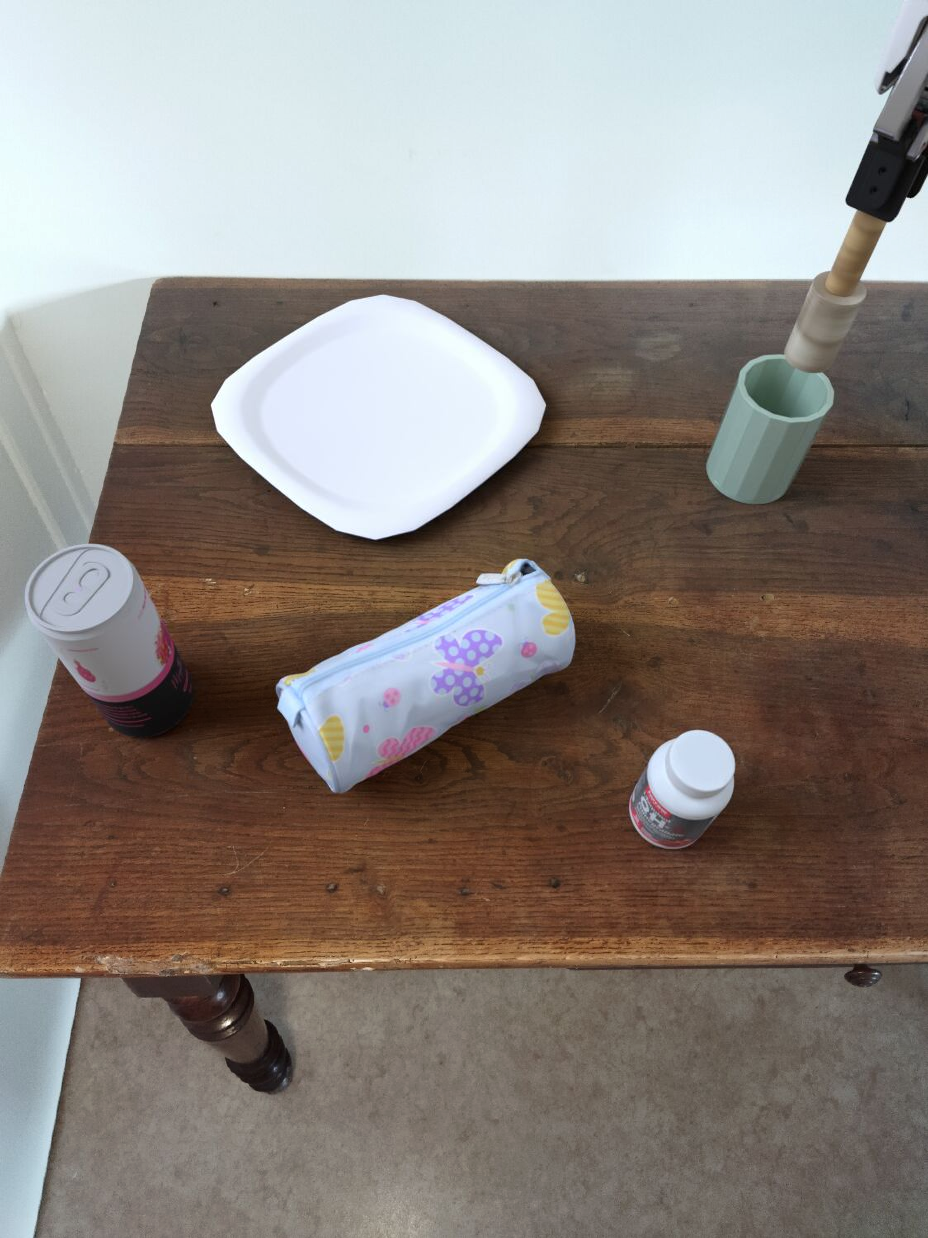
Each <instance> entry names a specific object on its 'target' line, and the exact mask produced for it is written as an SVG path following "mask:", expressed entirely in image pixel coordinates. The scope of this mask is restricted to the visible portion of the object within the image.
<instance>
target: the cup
mask: <svg viewBox="0 0 928 1238" xmlns="http://www.w3.org/2000/svg"><path fill="white" fill-rule="evenodd" d="M834 398H835V389H834V388H833V385H832V383H831V381H830V378H829V377H828V376H827V375H826V374H825V373H824V372H821V373H807V372H803V371H800V370H798V369H796V368H794V367H793V366H792V365H790V364H789V363H788V361H787V360H786V358H785V356H784V353H783V354H781V353H779V354H777V353H776V354H763V355H761V356H758V357H756V358H753V359H751V360H749V361H748V362H747V363H746V364H745V365H744V366H743V367H742V368H741V369H740V370H739V373H738V376H737V378H736V381H735V383H734V386H733V388H732V391H731V394H730V397H729V400H728V401H727V404H726V407H725V410H724V412H723V414H722V417H721V420H720V423H719V425H718V428H717V431H716V433H715V436H714V438H713V441H712V443H711V446H710V449H709V452H708V456H707V458H706V463H705V470H706V474H707V476H708V480H709V481H710V483H711V484H712V485H713V486H714V488H715V489H716V490H717V491H718V492H719V493H721V494H723V495H724V496H725V497H727V498H729V499H730V500H733V501H736V502H739V503H742V504H747V505H765V504H766V505H767V504H770V503H773V502H775V501H777V500H778V499H780V498H781V497H783V496H784V495H785V494H786V493H787V492H788V491H789V488H790V486H791V485H792V484H793V482H794V480H795V478H796V476H797V474H798V472H799V471H800V469H801V467H802V464H803V463H804V461H805V459H806V457H807V456H808V453H809V451H810V449H811V448H812V445H813V444H814V442H815V440H816V438H817V436H818V434H819V432H820V430H821V428H822V426H823V425H824V422H825V421H826V419H827V417H828V415H829V413H830V411H831V409H832V408H833V405H834Z"/></svg>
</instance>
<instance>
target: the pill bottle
mask: <svg viewBox="0 0 928 1238" xmlns="http://www.w3.org/2000/svg"><path fill="white" fill-rule="evenodd" d="M735 770H736V760H735V756H734V753H733V751H732V749H731V747H730V746H729V744H728V743H727V742H726V741H725V740H724V739H723V738H722V737H720V736H718V735H717V734H715V733H713V732H711V731H708V730H702V729H694V730H688V731H685V732H683V733H681V734H680V735H679V736H677V737H675V738H672V739H670V740H668V741H666V742H664V743H663V744H661V745H660V746H659V747H658V748H657V749H656V750H655V751H654V752H653V754H652V755H651V756H650V758H649V761H648V762H647V764H646V766H645V768H644V770H643V772H642V773H641V775H640V777H639V779H638V781H637V783H636V785H635V786H634V788H633V791H632V793H631V796H630V799H629V804H628V810H629V817H630V819H631V822H632V825H633V827H634V828H635V829H636V831H637V832H638V834H639V835H640V836H641V837H642V838H643V839H644V840H646V842H648V843H649V844H651V845H653V846H656V847H659V848H662V849H666V850H680V849H683V848H687V847H689V846H691V845H692V844H694V843H695V842H696V841H697V840H698V839H699V838H700V837H701V836H702V835H703V834H704V833H705V831H706V830H707V829H708V828H709V827H710V826H711V824H712V823H713V822H714V821H715V819H716V818H717V817H718V816H719V815H720V814H721V812H723V810H724V809H726V807H727V805H728V804H729V802H730V800H731V798H732V797H733V796H732V795H733V793H734V788H735V776H734V774H735V773H736V771H735Z"/></svg>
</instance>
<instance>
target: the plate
mask: <svg viewBox="0 0 928 1238" xmlns="http://www.w3.org/2000/svg"><path fill="white" fill-rule="evenodd" d="M210 407H211V411H212V415H213V419H214V424H215V428H216V432H217V434H218V435H219V436H220V437H221V438H222V439H223V440H224V441H225V443H226V444H227V445H228V446H229V447H230V448H231V449H232V451H234V453H235V454H236V455H237V456H238V457H239V458H240V460H242V461H243V462H244V463H245V464H247V466H248V467H250V468H251V469H252V470H254V471H255V472H256V473H257V474H258V475H260V476H261V477H262V478H263V479H264V480H265V481H266V482H267V483H268V484H270V485H271V486H272V487H273V488H274V489H276V490H277V491H278V492H279V493H281V494H282V495H283V496H284V497H286V498H287V499H288V500H289V501H291V502H292V503H293V504H294V505H295V506H297V507H298V508H299V509H301V510H302V511H303V512H305V513H307V514H308V515H310V516H311V517H313V518H314V519H316V520H317V521H319V522H321V523H322V524H324V525H326V526H327V527H329V529H330V528H331V530H333V531H335V532H337V533H341V534H346V535H348V536H354V537H358V538H362V539H366V540H371V541H375V542H376V541H380V540H384V539H389V538H393V537H397V536H401V535H405V534H409V533H414V532H416V531H418V530H419V529H421V528H422V527H424V526H425V525H427V524H429V523H431V522H432V521H433V520H435V519H437V518H439V517H440V516H442V515H443V514H445V513H447V512H449V511H450V510H451V509H453V508H454V507H455V506H456V505H458V504H459V503H460V502H461V501H462V500H464V499H465V498H466V497H468V496H469V495H470V494H472V493H473V492H474V491H476V490H477V489H478V488H479V487H481V486H482V485H483V484H485V483H486V482H487V481H488V480H489V479H490V478H492V477H493V476H494V475H496V473H497V472H499V471H500V470H502V468H504V467H505V466H506V465H507V464H509V463H510V462H511V461H512V460H513V459H515V457H517V455H518V454H519V453H521V451H522V450H523V449H524V448H525V447H526V446H527V445H528V444H529V442H530V441H532V439H533V438H534V437H536V436H537V434H538V433H539V430H540V427H541V424H542V421H543V417H544V414H545V411H546V407H547V404H546V402H545V400H544V398H543V396H542V394H541V391H540V390H539V388H538V386H537V383H536V382H535V381H534V379H533V378H532V377H531V376H529V375H528V374H527V373H526V372H524V370H523V369H521V368H520V367H519V366H518V365H517V364H515V363H514V362H513V361H512V360H511V359H509V358H508V357H507V356H505V355H504V354H502V353H501V352H500V351H498V350H497V349H495V348H494V347H493V346H491V345H489V344H488V343H486V342H485V341H484V340H482V339H481V338H479V337H478V336H476V335H475V334H473V333H472V332H470V331H468V330H467V329H466V328H464V327H463V326H461V325H459V324H458V323H456V322H455V321H453V320H452V319H451V318H449V317H447V316H445V315H444V314H441V313H439V312H437V311H435V310H434V309H431V308H430V307H428V306H426V305H424V304H422V303H420V302H418V301H416V300H412V299H408V298H403V297H397V296H393V295H388V294H378V295H373V296H369V297H362V298H357V299H353V300H349V301H346V302H345V303H343V304H341V305H339V306H337V307H335V308H333V309H330V310H329V311H326V312H325V313H323V314H320V315H319V316H317V317H315V318H314V319H312V320H310V321H309V322H307V323H305V324H303V325H302V326H301V327H299V328H297V329H295V330H293V331H292V332H291V333H289V334H287V335H286V336H284V337H283V338H281V339H280V340H278V341H276V342H275V343H273V344H272V345H270V346H268V347H267V348H266V349H264V350H262V351H261V352H260V353H258V354H256V355H255V356H253V357H252V358H250V360H248V361H247V362H245V364H244V365H242V366H241V367H240V368H238V369H237V370H236V371H234V373H232V374H231V375H229V376H228V377H227V378H226V379H225V380H224V382H223V384H222V385H221V387H220V388H219V390H218V392H217V393H216V396H215V398H213V400H212V402H211V404H210Z"/></svg>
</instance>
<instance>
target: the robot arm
mask: <svg viewBox="0 0 928 1238" xmlns="http://www.w3.org/2000/svg"><path fill="white" fill-rule="evenodd" d="M873 83H874V88H875V91H876V92H877V94H878V95H880V96H882V95H884V94H885V93H887V92H888V91H889V90H890V91H889V94H888V95H887V99H886V102H885V104H884V106H883V108H882V109H881V112H880V114H879V115H878V118H877V120H876V121H875V122H874V123H875V124H874V126H873V128H872V134H871V136H870V139H869V140H868V143H867V146H866V148H865V150H864V153H863V155H862V157H861V160H860V163H859V165H858V168H857V169H856V172H855V174H854V177H853V180H852V182H851V184H850V187H849V189H848V191H847V193H846V196H845V198H844V199H845V200H844V203H845V204H846V205H847V206H848V207H850V208H851V209H855V210H856V211H857V210H859V211H861V212H864V213H866V214H868V215H871V216H873V217H875V218H878V219H880V220H882V221H885V222H887V223H892V222H893V221H894V220H895V219H896V218H897V217H898V216H899V215H900V212H901V210H902V208H903V206H904V204H905V201H906V199H913V198H915V197H916V196H918V195H919V193H920V192H921V191H922V188H923V186H924V184H925V182H926V180H927V178H928V145H927V147H926V148H925V149H924V147H925V145H926V143H927V141H928V0H903V1H902V4H901V6H900V9H899V10H898V13H897V16H896V18H895V21H894V23H893V25H892V28H891V31H890V33H889V36H888V38H887V41H886V43H885V46H884V49H883V51H882V53H881V57H880V59H879V63H878V66H877V69H876V73H875V76H874V78H873ZM913 110H916V111H919V112H921V113H924V114H925V116H924V118H923V120H922V122H921V124H920V126H919V127H918V125H919V120H918V119H916V118H912V117H911V115H912V112H913ZM923 149H924V150H923Z"/></svg>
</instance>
